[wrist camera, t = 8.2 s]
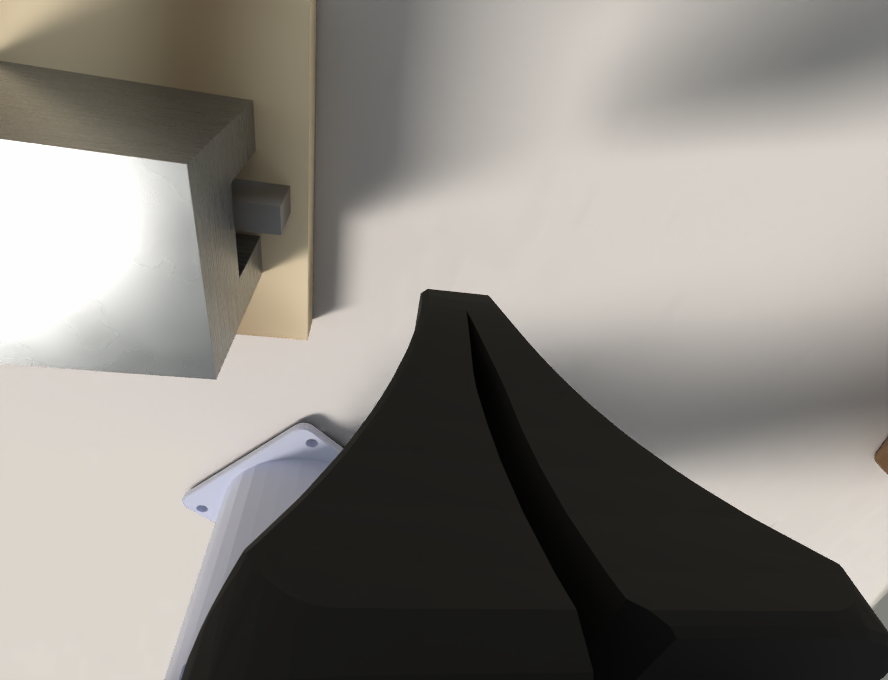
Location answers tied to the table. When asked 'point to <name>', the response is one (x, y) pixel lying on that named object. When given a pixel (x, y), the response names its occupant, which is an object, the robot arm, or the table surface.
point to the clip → (121, 224)
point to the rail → (216, 72)
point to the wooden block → (882, 456)
